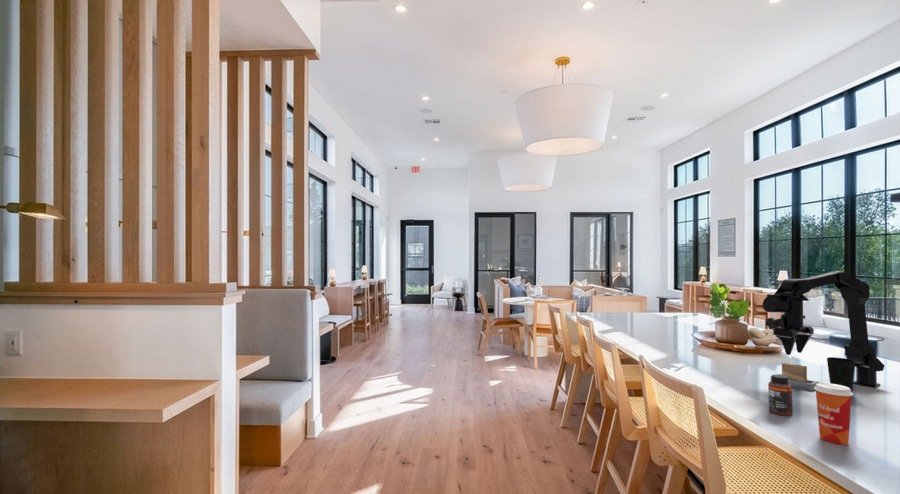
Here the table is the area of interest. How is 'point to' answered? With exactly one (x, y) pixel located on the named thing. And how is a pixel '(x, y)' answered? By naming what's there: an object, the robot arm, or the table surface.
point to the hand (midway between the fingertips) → (793, 353)
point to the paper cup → (833, 412)
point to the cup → (841, 371)
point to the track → (802, 384)
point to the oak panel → (794, 371)
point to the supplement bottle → (780, 396)
